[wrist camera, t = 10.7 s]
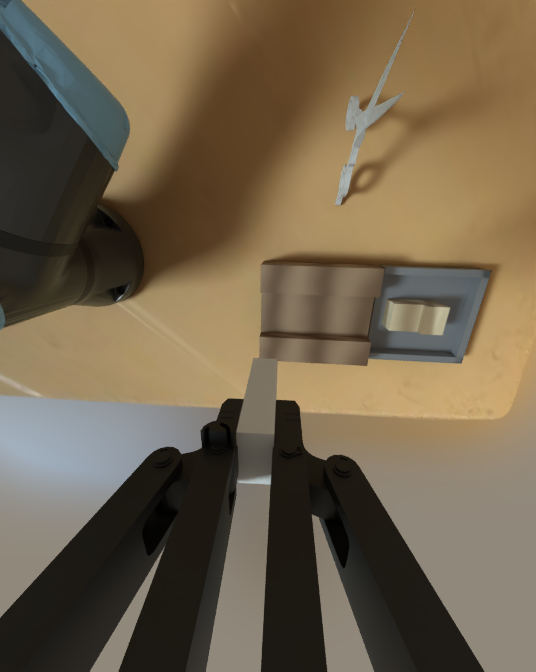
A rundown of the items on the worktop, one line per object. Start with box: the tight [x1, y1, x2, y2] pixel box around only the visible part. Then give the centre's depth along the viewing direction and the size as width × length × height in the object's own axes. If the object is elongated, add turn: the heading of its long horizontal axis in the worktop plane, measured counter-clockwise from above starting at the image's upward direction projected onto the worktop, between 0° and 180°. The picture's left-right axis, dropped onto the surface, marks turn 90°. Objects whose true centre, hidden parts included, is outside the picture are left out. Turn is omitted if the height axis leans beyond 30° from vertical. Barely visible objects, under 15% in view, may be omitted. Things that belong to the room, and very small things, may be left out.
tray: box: [367, 265, 491, 364], centre depth 39 cm, size 14×14×2 cm
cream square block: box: [382, 299, 424, 332], centre depth 39 cm, size 4×4×3 cm
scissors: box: [335, 8, 416, 205], centre depth 25 cm, size 11×1×20 cm, turn 179°
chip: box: [415, 300, 450, 335], centre depth 38 cm, size 4×4×3 cm
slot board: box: [259, 261, 385, 366], centre depth 39 cm, size 16×14×5 cm
